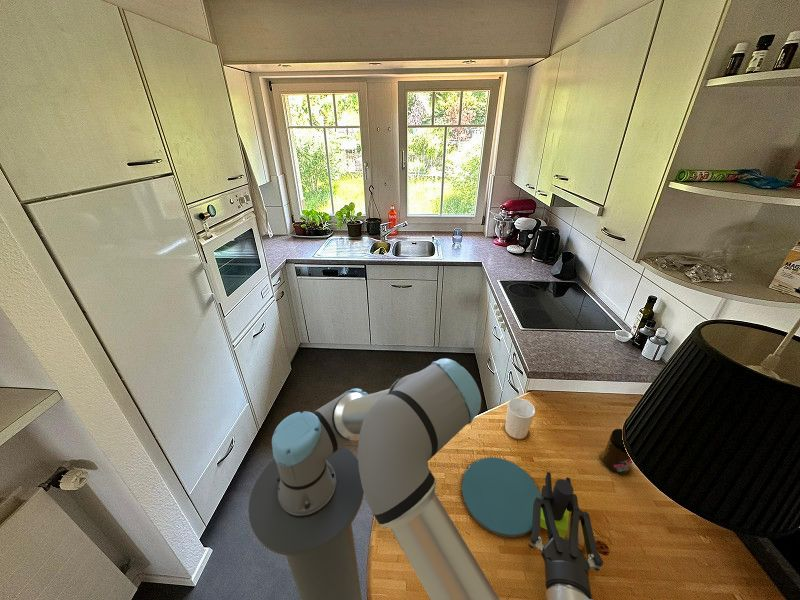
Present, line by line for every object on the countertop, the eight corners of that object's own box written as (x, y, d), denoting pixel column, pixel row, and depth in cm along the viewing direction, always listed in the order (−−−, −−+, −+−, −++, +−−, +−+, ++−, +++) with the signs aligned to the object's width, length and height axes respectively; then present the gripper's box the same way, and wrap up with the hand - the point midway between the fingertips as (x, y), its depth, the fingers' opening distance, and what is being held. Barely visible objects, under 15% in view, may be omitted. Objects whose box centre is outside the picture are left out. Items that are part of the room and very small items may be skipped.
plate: (450, 509, 81) (450, 507, 81) (475, 449, 96) (475, 446, 96) (533, 555, 72) (534, 553, 72) (546, 481, 88) (547, 478, 87)
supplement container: (605, 472, 90) (617, 447, 85) (597, 451, 95) (608, 427, 91) (632, 476, 88) (646, 451, 84) (622, 455, 94) (634, 430, 89)
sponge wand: (536, 524, 76) (548, 491, 70) (540, 502, 81) (551, 469, 75) (564, 538, 74) (578, 505, 68) (566, 514, 78) (580, 481, 72)
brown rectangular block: (562, 540, 75) (564, 536, 74) (564, 520, 79) (566, 516, 78) (581, 550, 73) (584, 546, 72) (583, 529, 77) (585, 524, 76)
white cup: (499, 432, 102) (503, 409, 97) (508, 416, 107) (513, 394, 103) (524, 445, 98) (530, 422, 93) (532, 428, 103) (538, 405, 98)
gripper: (516, 586, 63) (518, 477, 82) (614, 623, 58) (591, 498, 77) (523, 567, 59) (523, 458, 79) (627, 605, 54) (600, 479, 74)
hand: (557, 478), depth 78 cm, fingers closed on sponge wand, 4 cm apart
